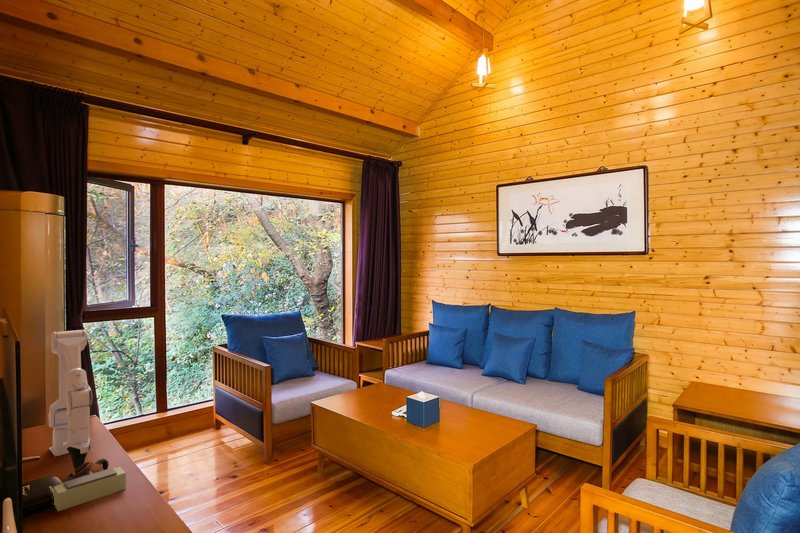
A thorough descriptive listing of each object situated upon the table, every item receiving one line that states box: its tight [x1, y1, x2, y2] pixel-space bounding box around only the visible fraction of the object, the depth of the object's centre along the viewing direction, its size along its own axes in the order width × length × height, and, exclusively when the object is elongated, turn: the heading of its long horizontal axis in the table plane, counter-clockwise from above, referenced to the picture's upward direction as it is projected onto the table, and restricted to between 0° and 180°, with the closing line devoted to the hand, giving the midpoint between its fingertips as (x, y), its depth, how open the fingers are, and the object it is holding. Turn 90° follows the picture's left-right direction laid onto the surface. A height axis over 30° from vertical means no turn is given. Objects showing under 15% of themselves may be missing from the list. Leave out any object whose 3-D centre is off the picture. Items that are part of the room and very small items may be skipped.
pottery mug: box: [66, 458, 109, 481], centre depth 138 cm, size 12×10×8 cm
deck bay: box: [48, 466, 127, 512], centre depth 133 cm, size 11×17×6 cm, turn 139°
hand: (78, 468), depth 145 cm, fingers closed
